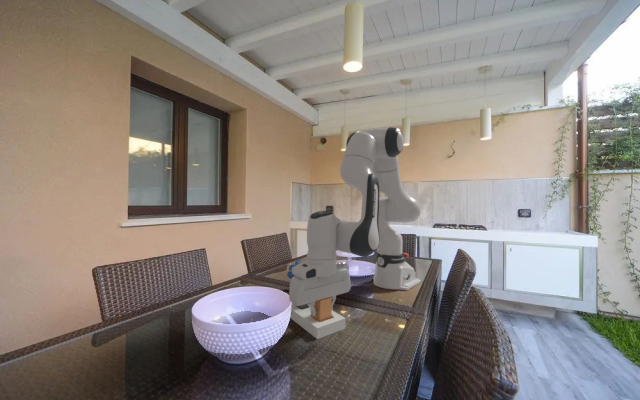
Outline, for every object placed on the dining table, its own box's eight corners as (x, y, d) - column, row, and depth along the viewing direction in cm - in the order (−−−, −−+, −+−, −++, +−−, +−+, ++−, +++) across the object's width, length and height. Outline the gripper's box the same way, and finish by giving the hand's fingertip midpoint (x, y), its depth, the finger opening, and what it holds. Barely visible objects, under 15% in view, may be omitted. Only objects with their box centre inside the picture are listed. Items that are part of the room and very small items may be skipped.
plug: (323, 319, 80) (323, 289, 80) (331, 325, 77) (331, 293, 77) (312, 323, 78) (312, 291, 78) (320, 329, 75) (320, 296, 74)
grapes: (288, 293, 106) (288, 264, 106) (286, 288, 112) (286, 260, 112) (316, 291, 109) (316, 262, 108) (312, 285, 115) (312, 258, 115)
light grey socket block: (308, 307, 93) (308, 296, 92) (345, 331, 76) (345, 318, 76) (283, 315, 87) (283, 303, 87) (317, 342, 70) (317, 328, 70)
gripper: (342, 259, 86) (342, 300, 86) (286, 269, 74) (286, 317, 74) (355, 263, 80) (355, 307, 81) (297, 274, 69) (297, 326, 69)
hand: (321, 312), depth 77 cm, fingers closed on plug, 4 cm apart
